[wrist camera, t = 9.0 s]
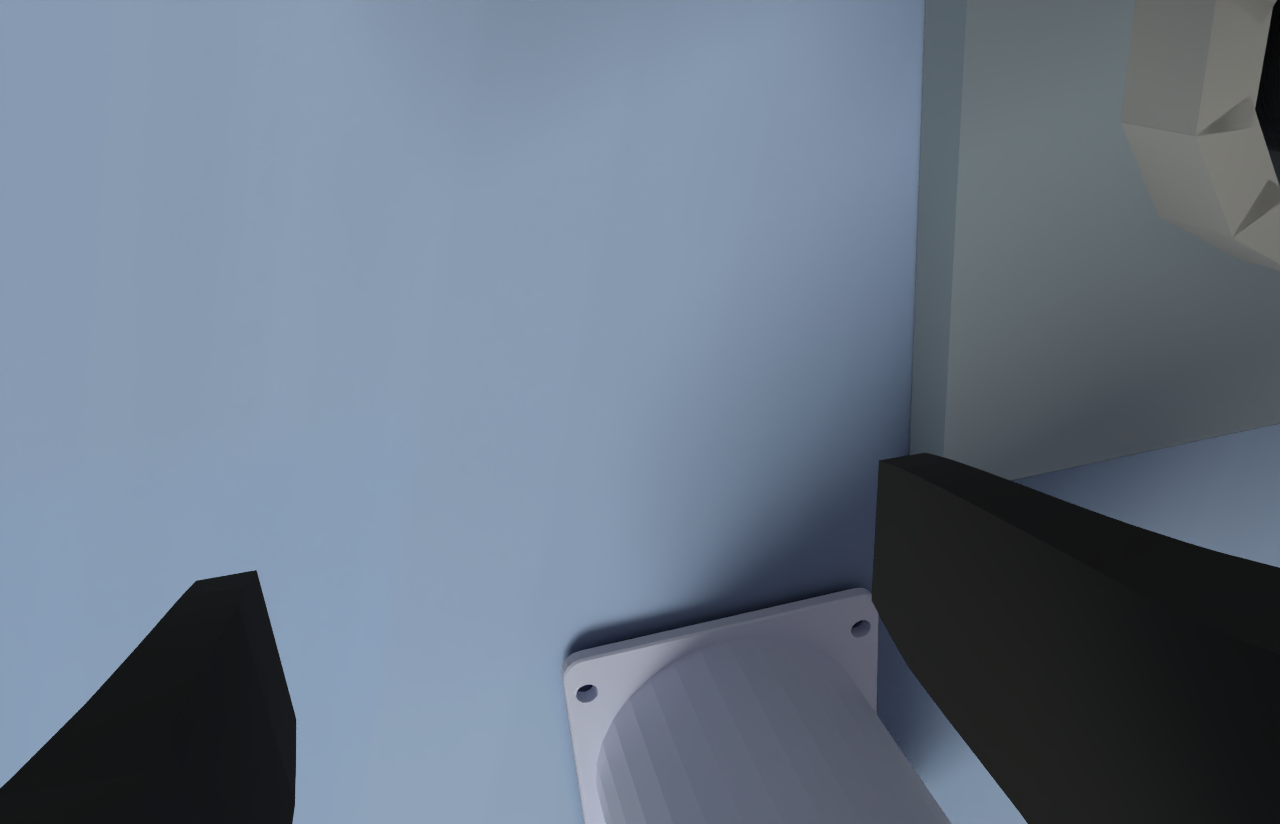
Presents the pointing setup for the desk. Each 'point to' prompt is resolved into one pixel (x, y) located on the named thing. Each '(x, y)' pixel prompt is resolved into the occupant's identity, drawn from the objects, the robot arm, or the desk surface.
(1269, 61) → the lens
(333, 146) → the desk surface
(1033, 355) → the mount plate
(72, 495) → the desk surface
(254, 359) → the desk surface
